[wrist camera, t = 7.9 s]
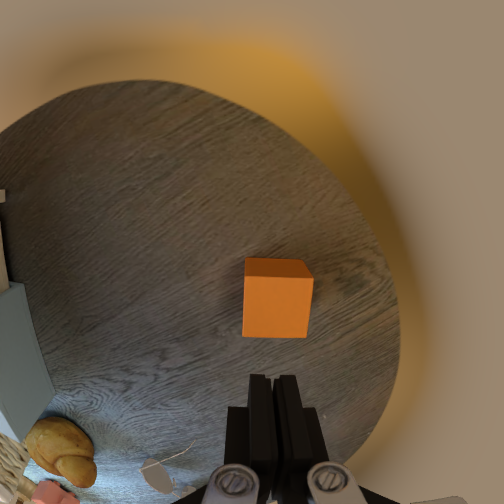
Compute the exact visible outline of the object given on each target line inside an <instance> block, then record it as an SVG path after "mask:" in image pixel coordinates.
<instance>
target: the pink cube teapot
mask: <svg viewBox="0 0 504 504" xmlns="http://www.w3.org/2000/svg"><path fill="white" fill-rule="evenodd" d="M73 496H76V495H75V494H74V493H72V492H68V493H67V492H66V491H64V490H63V489H61V488H60V483H58V482H57V481H54V483H53V482H52V481H51V480H50V481H40V482H39V484H38V486H37V488H36V490H35V492H34V494H33V496H32V497H31V500H33V501H34V502H36V503H37V504H80V501H79V500H77V499H76V498H74V497H73Z"/></svg>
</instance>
